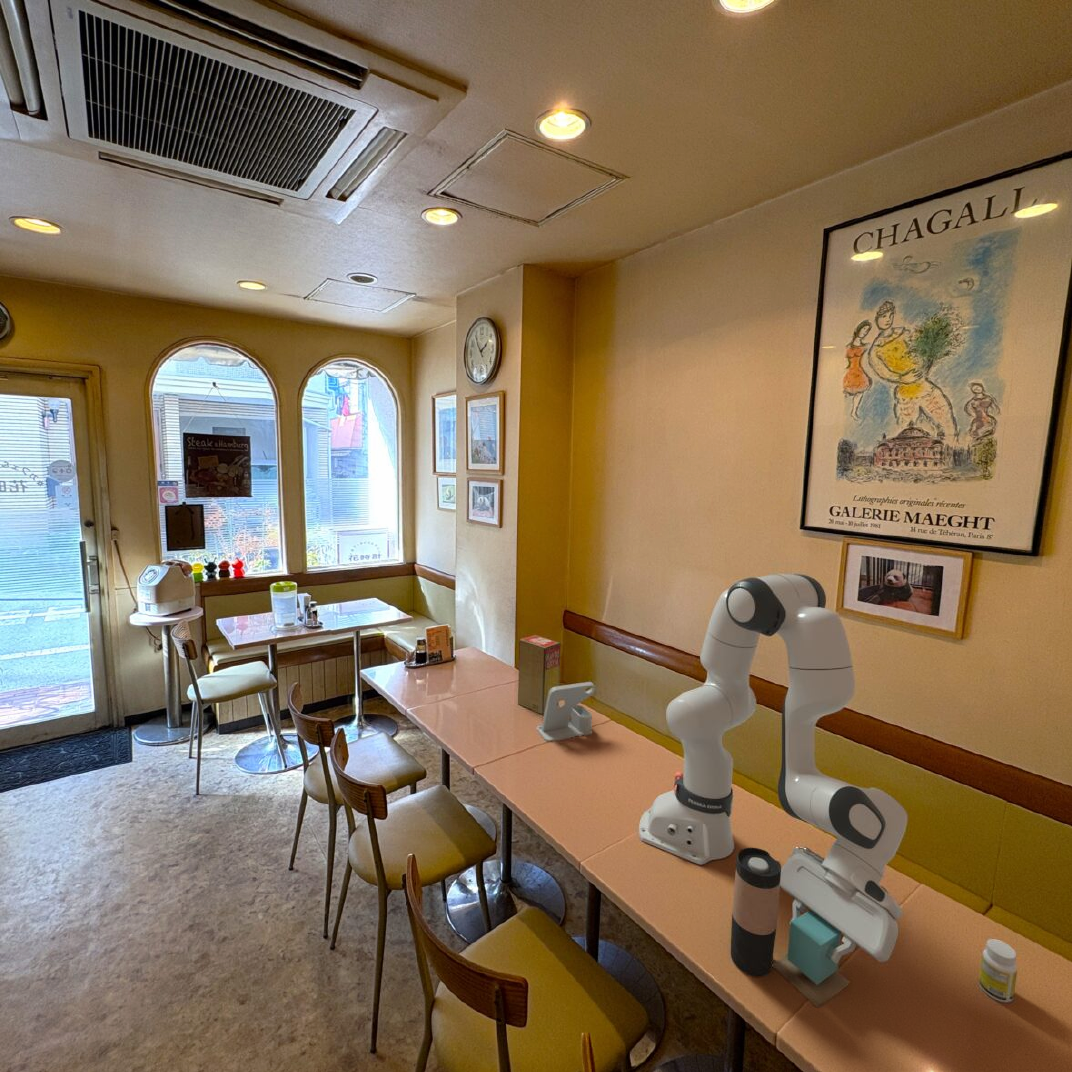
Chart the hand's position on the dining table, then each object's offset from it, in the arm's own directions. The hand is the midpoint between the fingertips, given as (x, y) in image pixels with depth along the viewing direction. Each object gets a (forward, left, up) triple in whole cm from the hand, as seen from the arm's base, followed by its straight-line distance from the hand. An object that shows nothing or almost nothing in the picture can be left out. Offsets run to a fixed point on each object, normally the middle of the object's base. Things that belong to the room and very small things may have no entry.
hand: (811, 944), depth 101 cm
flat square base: (0, +1, -7) cm, 7 cm away
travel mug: (-10, 0, -7) cm, 12 cm away
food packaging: (-87, +83, -7) cm, 120 cm away
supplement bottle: (+30, +11, -7) cm, 33 cm away
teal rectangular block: (0, +1, -4) cm, 4 cm away
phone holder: (-71, +68, -7) cm, 99 cm away
